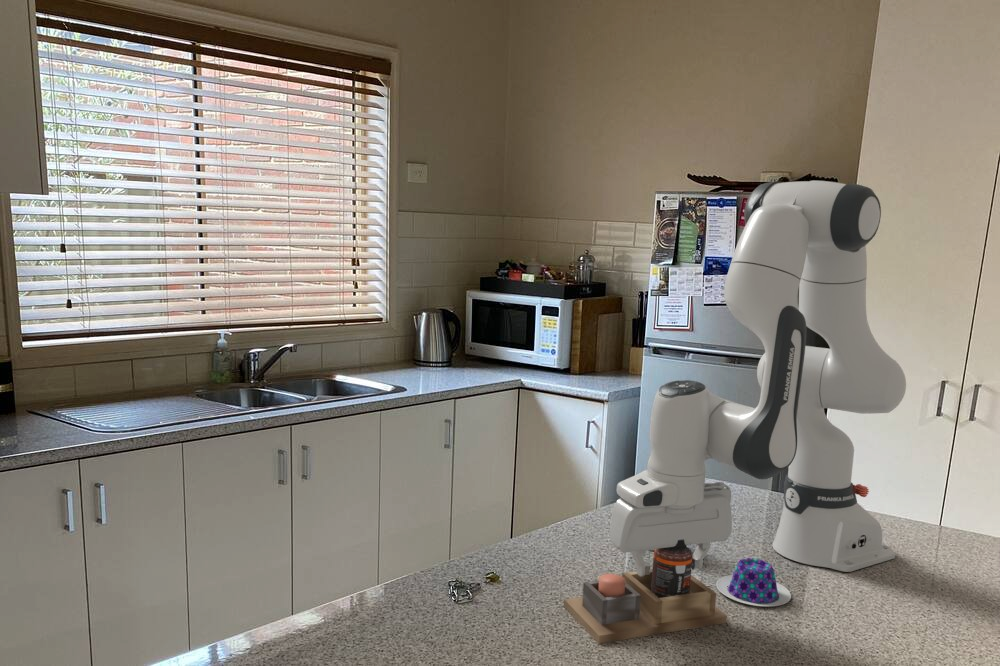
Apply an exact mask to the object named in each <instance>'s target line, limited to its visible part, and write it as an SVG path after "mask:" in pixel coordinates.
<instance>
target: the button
mask: <svg viewBox="0 0 1000 666" xmlns="http://www.w3.org/2000/svg"><path fill="white" fill-rule="evenodd" d="M598 580H599V589H598V591H599V592H600V593H601V594H602V595H603V596H604V597H605V598H606V597H613V596H620V595H625V582H626V580H625V579H624V578H623V577H622V575H619V574H616V573H615V574H614V573H606V574H602V575H600V576H599V577H598Z"/></svg>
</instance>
